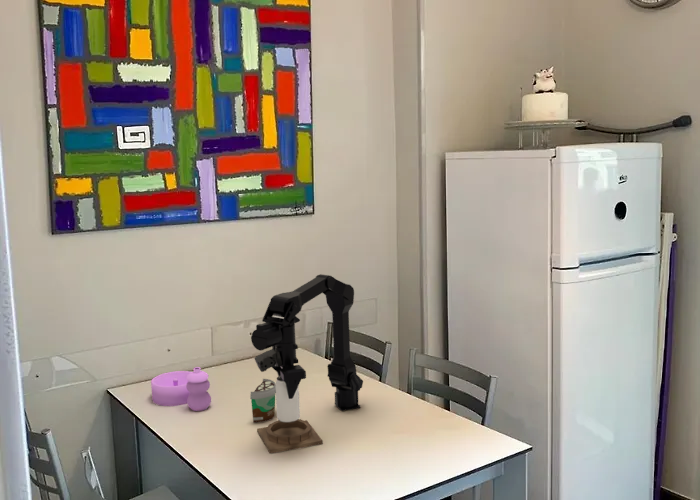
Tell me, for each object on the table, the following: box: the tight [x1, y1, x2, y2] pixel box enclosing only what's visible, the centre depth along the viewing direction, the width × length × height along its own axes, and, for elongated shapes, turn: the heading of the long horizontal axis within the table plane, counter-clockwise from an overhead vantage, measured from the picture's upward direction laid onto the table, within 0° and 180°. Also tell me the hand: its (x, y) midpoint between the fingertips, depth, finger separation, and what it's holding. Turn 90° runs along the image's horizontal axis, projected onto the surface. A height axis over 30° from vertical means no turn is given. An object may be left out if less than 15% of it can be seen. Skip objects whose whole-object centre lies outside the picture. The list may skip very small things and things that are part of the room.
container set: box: [150, 366, 212, 412], centre depth 228 cm, size 25×15×13 cm, turn 45°
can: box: [275, 375, 301, 423], centre depth 198 cm, size 6×6×12 cm
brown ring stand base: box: [256, 418, 324, 454], centre depth 199 cm, size 15×15×3 cm
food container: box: [249, 378, 276, 424], centre depth 214 cm, size 12×6×10 cm, turn 168°
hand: (287, 394), depth 197 cm, fingers closed on can, 6 cm apart
